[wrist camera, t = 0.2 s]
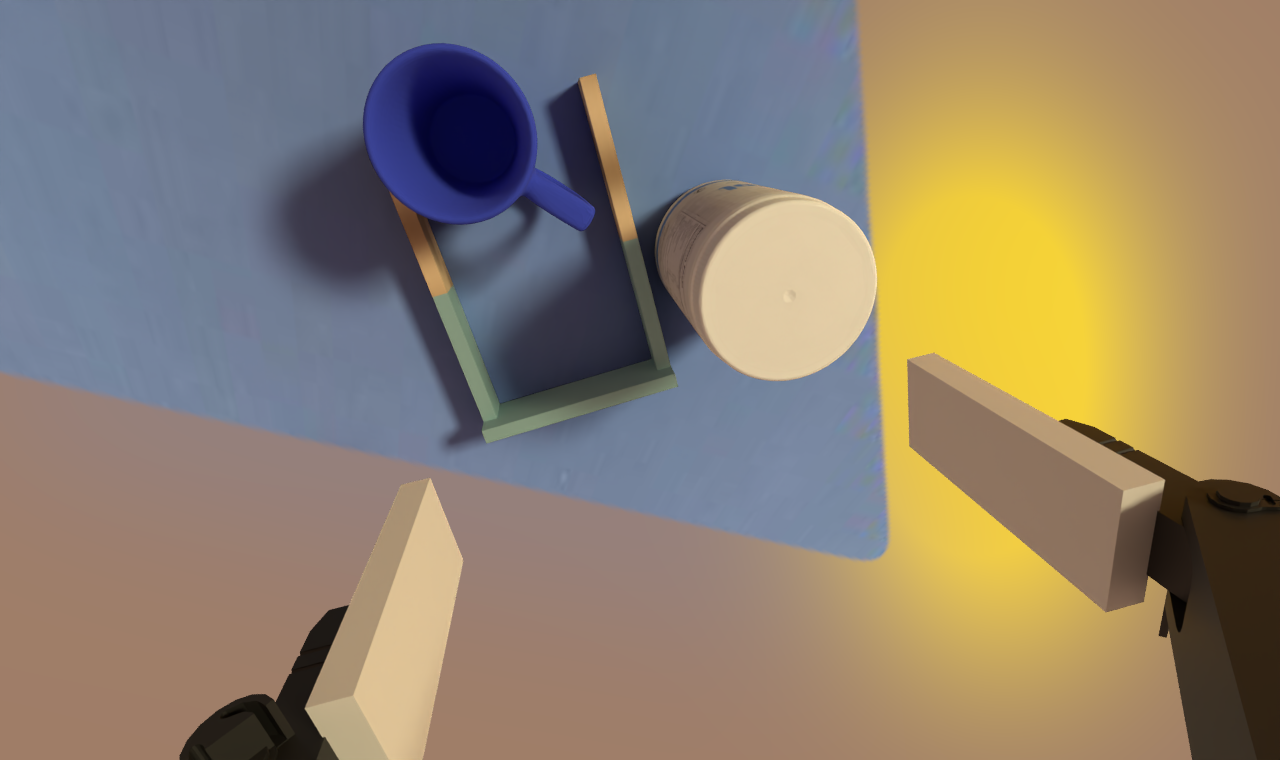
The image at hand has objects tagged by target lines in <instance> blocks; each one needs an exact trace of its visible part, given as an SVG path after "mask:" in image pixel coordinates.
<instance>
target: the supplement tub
mask: <svg viewBox="0 0 1280 760" xmlns="http://www.w3.org/2000/svg"><path fill="white" fill-rule="evenodd" d="M655 261H656V266H657V270H658V273H659V276H660V279H661V281H662V283H663V285H664V286H665V288H666V289H667V291H668V292H669V294H670V295H671V296H672V298H673V299H674V301H675V302H676V303H677V305H678V306H679V308H680V309H681V311H682V312H683V313H684V315H685V316H686V318H687V319H688V320H689V322H690V323H691V325H692V326H693V327H694V329H695V330H696V332H697V333H698V334H699V336H700V337H701V338H702V340H703V341H704V343H705V344H706V345H707V347H708V348H709V349H710V350H711V351H712V352H713V353H714V354H715V355H716V356H717V357H719V358H720V359H721V360H722V361H724V362H725V363H726V364H728V365H729V366H730V367H732V368H733V369H735V370H736V371H738V372H740V373H742V374H744V375H747V376H750V377H753V378H757V379H761V380H768V381H786V380H792V379H797V378H801V377H804V376H807V375H810V374H812V373H815V372H817V371H819V370H821V369H823V368H825V367H826V366H828V365H829V364H831V363H832V362H834V361H835V360H836V359H838V358H839V357H840V356H841V355H842V354H843V353H845V352H846V350H847V349H848V348H849V347H850V346H851V345H852V344H853V343H854V341H855V340H856V339H857V337H858V336H859V334H860V333H861V331H862V330H863V328H864V326H865V324H866V322H867V320H868V318H869V316H870V313H871V311H872V307H873V304H874V300H875V295H876V287H877V273H876V264H875V260H874V256H873V253H872V249H871V247H870V245H869V242H868V241H867V239H866V237H865V235H864V234H863V232H862V231H861V229H860V228H859V227H858V226H857V225H856V223H855V222H853V221H852V220H851V219H850V218H849V217H848V216H847V215H845V214H844V213H842V212H841V211H839V210H837V209H836V208H834V207H832V206H831V205H829V204H827V203H825V202H823V201H821V200H818V199H815V198H812V197H809V196H805V195H801V194H797V193H792V192H787V191H783V190H778V189H773V188H769V187H764V186H760V185H755V184H751V183H747V182H742V181H735V180H717V181H711V182H707V183H703V184H701V185H698V186H696V187H694V188H692V189H690V190H689V191H687V192H686V193H684V194H683V195H682V196H681V197H679V198H678V199H677V200H676V201H675V202H674V203H673V205H672V206H671V207H670V208H669V210H668V211H667V213H666V214H665V216H664V218H663V220H662V222H661V224H660V226H659V229H658V232H657V236H656V242H655Z"/></svg>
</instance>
